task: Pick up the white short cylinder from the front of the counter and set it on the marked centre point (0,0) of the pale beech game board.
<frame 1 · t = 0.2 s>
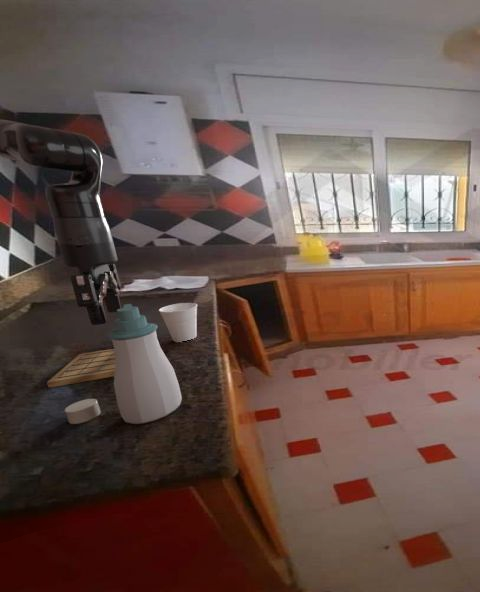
hand: (108, 317, 67), 19 cm above the counter, tool pointing down, fingers open, 8 cm apart
cup: (185, 339, 103), on the counter
white short cylinder: (85, 416, 65), on the counter
board: (109, 364, 86), on the counter
soap bottle: (154, 411, 67), on the counter
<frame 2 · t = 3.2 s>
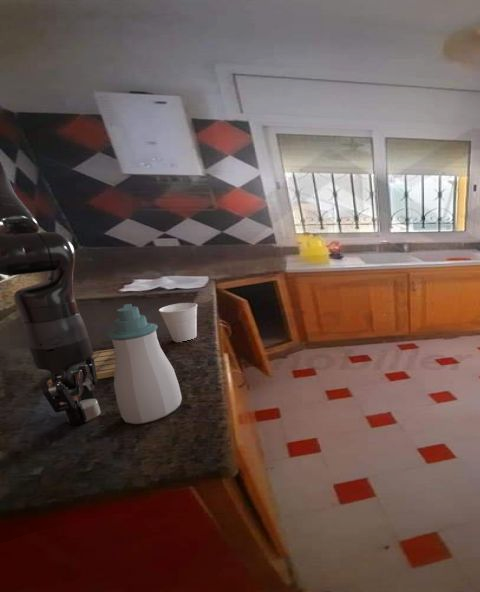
hand: (84, 415, 65), 0 cm above the counter, tool pointing down, fingers closed on white short cylinder, 4 cm apart
white short cylinder: (85, 416, 65), on the counter, touching gripper
everything else where it was.
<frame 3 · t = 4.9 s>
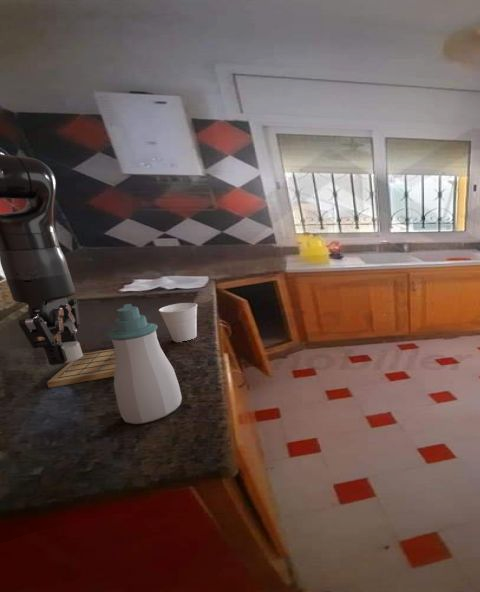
hand: (65, 357, 62), 13 cm above the counter, tool pointing down, fingers closed on white short cylinder, 4 cm apart
white short cylinder: (66, 359, 62), point 13 cm above the counter, touching gripper
everything else where it was.
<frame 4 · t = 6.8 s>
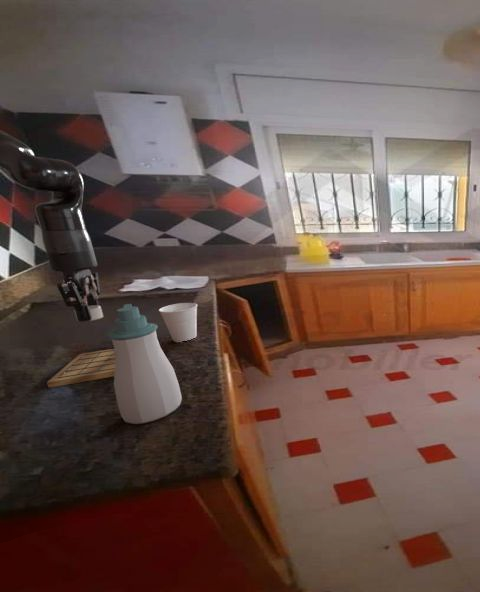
hand: (90, 317, 79), 15 cm above the counter, tool pointing down, fingers closed on white short cylinder, 4 cm apart
white short cylinder: (90, 318, 79), point 15 cm above the counter, touching gripper
everything else where it was.
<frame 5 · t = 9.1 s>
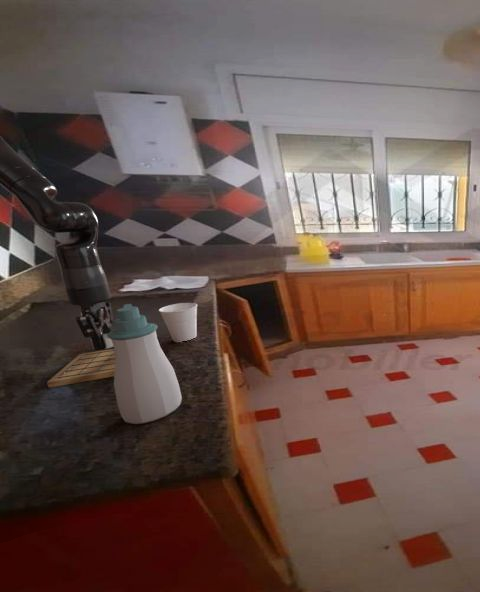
hand: (104, 345, 84), 6 cm above the counter, tool pointing down, fingers closed on white short cylinder, 4 cm apart
white short cylinder: (105, 346, 85), point 5 cm above the counter, touching gripper
everything else where it was.
when the fingers open (2 cm above the counter, at t = 10.5 s): white short cylinder stays where it is, resting on board.
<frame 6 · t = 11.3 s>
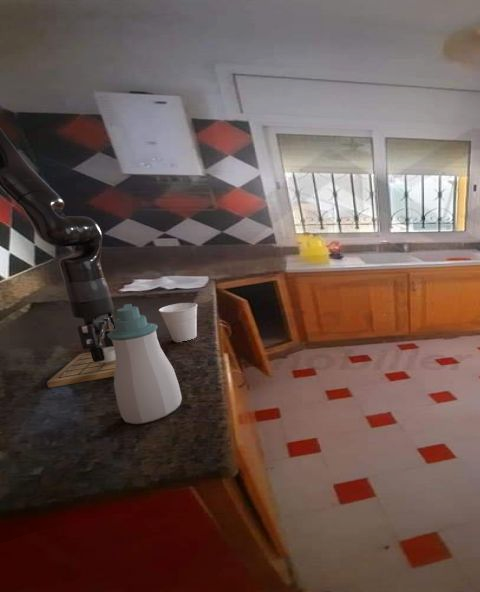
hand: (106, 354, 85), 3 cm above the counter, tool pointing down, fingers open, 8 cm apart
white short cylinder: (109, 359, 86), point 2 cm above the counter, touching board
everything else where it was.
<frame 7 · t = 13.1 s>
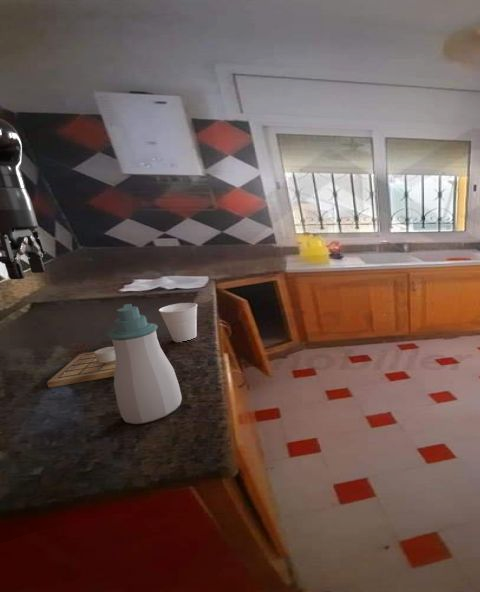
hand: (28, 275, 78), 25 cm above the counter, tool pointing down, fingers open, 8 cm apart
nothing on the counter moved.
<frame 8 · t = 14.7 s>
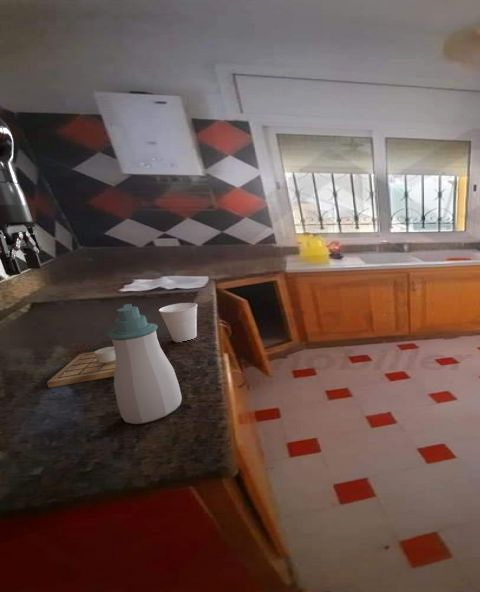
hand: (25, 271, 78), 26 cm above the counter, tool pointing down, fingers open, 8 cm apart
nothing on the counter moved.
at the end: white short cylinder 0.1 cm off-centre on the board, point 1.6 cm above the board's base; white short cylinder tilted 0°; the gripper is holding nothing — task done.
